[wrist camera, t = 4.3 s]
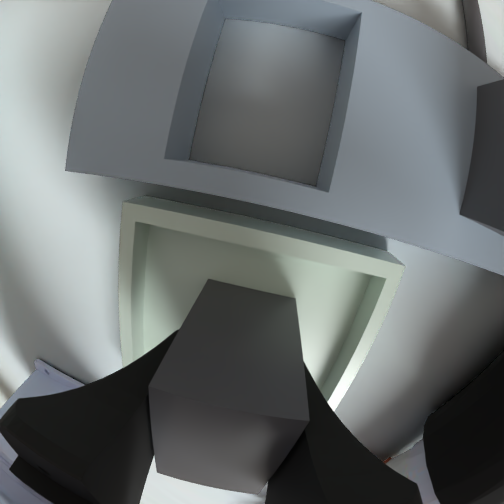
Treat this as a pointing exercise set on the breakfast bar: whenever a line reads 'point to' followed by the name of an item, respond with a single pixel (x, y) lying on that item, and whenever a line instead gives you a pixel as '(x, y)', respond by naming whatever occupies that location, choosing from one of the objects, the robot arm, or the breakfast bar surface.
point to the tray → (252, 281)
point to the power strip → (341, 126)
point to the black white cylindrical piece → (462, 446)
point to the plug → (230, 390)
